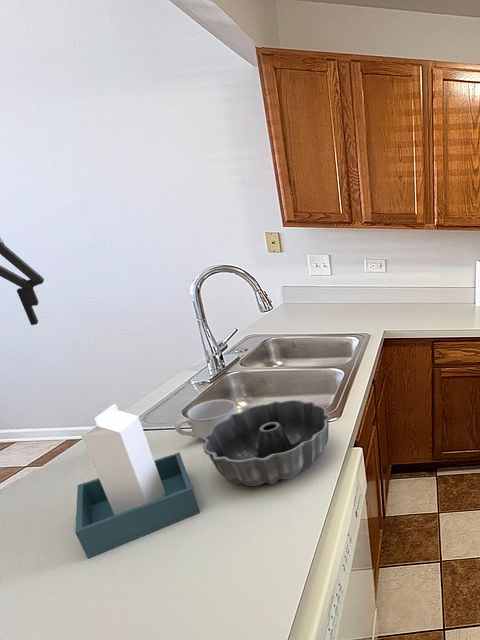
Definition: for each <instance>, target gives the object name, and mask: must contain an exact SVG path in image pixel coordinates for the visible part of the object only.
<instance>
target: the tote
mask: <svg viewBox="0 0 480 640" xmlns="http://www.w3.org/2000/svg"><path fill="white" fill-rule="evenodd" d="M154 462H155V465H156V467H157V470H158V473H159V476H160V479H161V482H162V484H163V487H164V490H165V493H166V496H165V497H163V498H160V499H157V500H155V501H152V502H149V503H147V504H144V505H141V506H139V507H136V508H133V509H130V510H128V511H125V512H122V513H120V514H117V515H114V513H113V510H112V508H111V506H110V503H109V501H108V499H107V496H106V494H105V492H104V489H103V487H102V484H101V482H100V480H99V477H97V478H95V479H92V480H89V481H86V482H83V483H80V484H77V489H76V490H77V491H76V492H77V493H76V512H75V513H76V514H75V532H74V533H75V535H76V537H77V539H78V541H79V543H80V545H81V547H82V550H83V552H84V554H85V556H86V558H87V559H91V558H94V557H96V556H98V555H101V554H103V553H105V552H108V551H110V550H113V549H115V548H118V547H120V546H124V545H125V544H127V543H129V542H132V541H135V540H137V539H139V538H143V537H145V536H147V535H149V534H152V533H154V532H156V531H160V530H161V529H164V528H166V527H169V526H171V525H173V524H176V523H179V522H180V521H184V520H186V519H188V518H190V517H192V516H195V515H196V516H197V514H200V513H201V512H200V511H201V510H200V508H199V505H198V502H197V499H196V496H195V493H194V489H193V486H192V484H191V481H190V478H189V475H188V473H187V470H186V467H185V464H184V461H183V458H182V455H181V453H180V452H176V453H172V454H170V455H166V456H163V457H161V458H158V459H154Z"/></svg>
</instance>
